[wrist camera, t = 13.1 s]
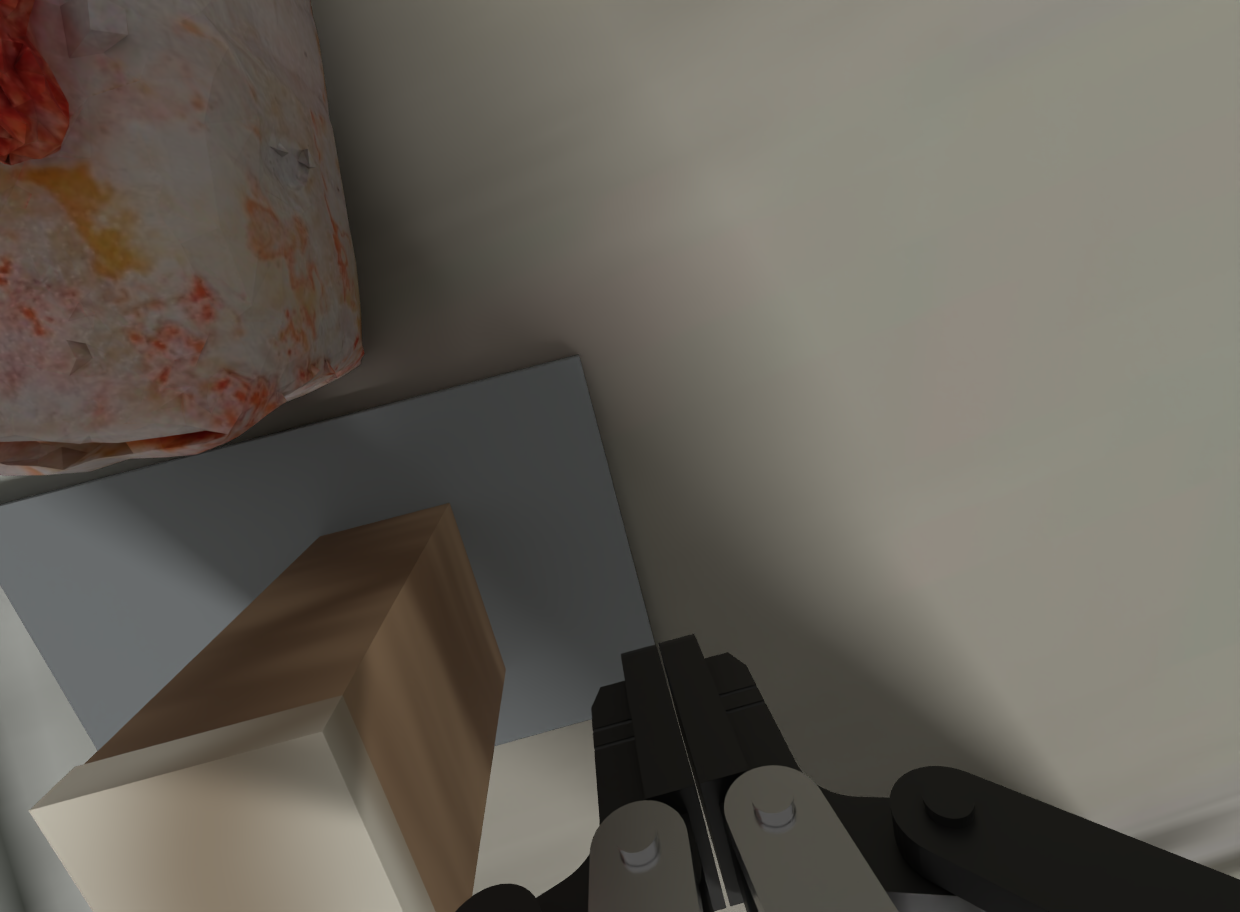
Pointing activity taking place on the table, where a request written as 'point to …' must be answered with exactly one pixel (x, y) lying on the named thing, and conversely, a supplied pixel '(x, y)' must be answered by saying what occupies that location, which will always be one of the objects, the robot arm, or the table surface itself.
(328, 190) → the food item
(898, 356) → the table surface
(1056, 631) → the table surface
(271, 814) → the wooden block
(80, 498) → the mat
